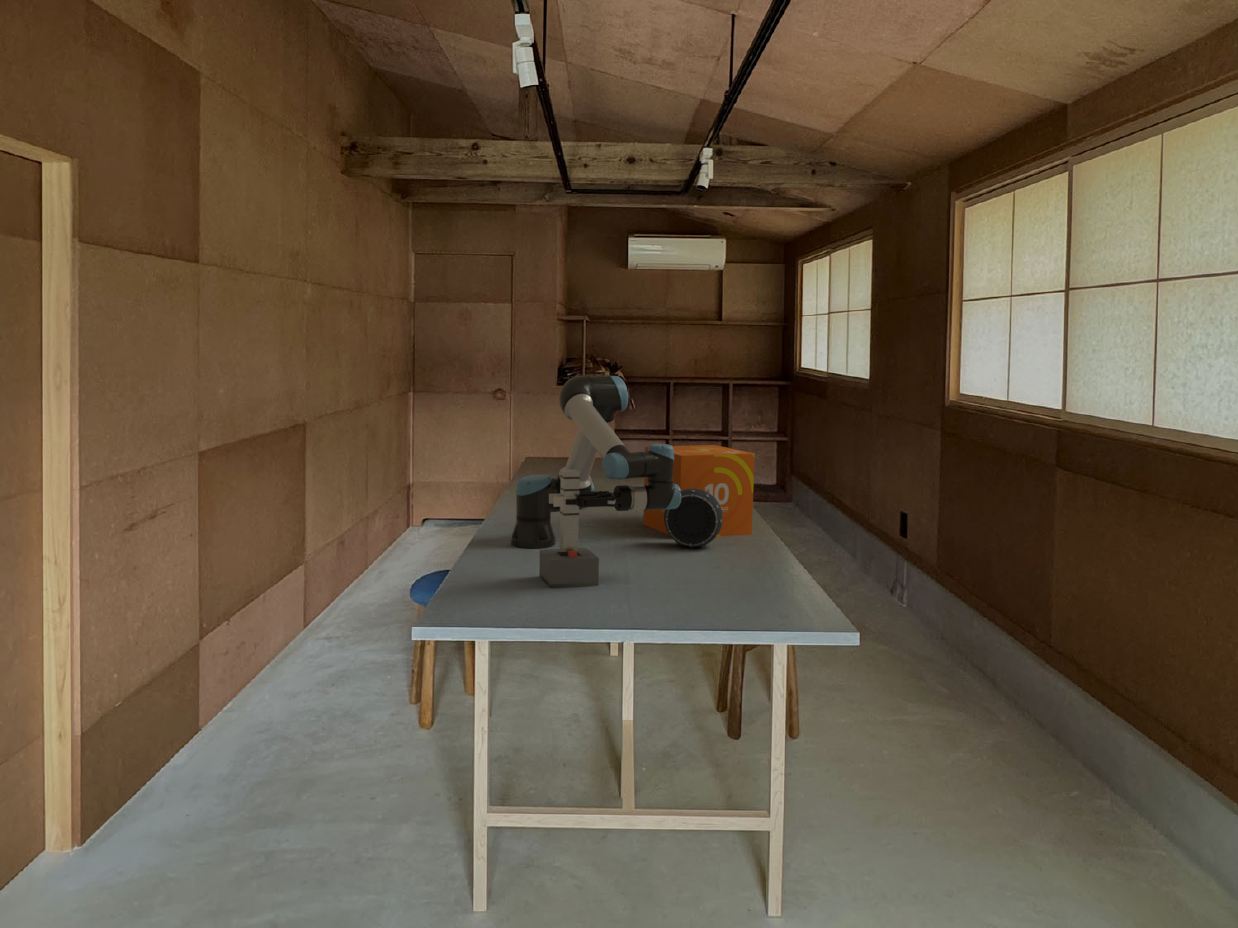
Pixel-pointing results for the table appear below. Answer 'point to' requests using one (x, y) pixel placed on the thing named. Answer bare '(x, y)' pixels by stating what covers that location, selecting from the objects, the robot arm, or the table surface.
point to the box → (714, 484)
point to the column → (569, 511)
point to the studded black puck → (694, 519)
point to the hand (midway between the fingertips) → (551, 500)
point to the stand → (569, 568)
